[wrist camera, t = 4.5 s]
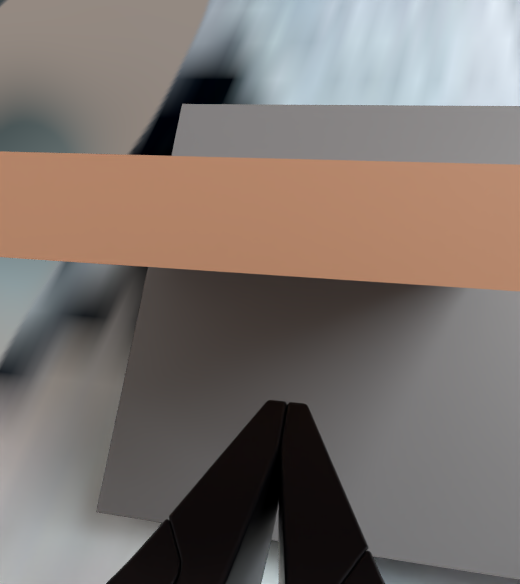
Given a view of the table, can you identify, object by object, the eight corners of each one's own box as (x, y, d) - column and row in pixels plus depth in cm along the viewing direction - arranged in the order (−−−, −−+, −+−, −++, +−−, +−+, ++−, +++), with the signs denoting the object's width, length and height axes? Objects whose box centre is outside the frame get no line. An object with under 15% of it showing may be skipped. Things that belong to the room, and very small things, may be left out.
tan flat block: (483, 266, 14) (786, 309, 5) (153, 247, 16) (-82, 251, 7) (488, 220, 14) (815, 172, 5) (154, 205, 16) (-87, 149, 6)
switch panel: (826, 606, 12) (957, 650, 10) (116, 497, 15) (79, 510, 13) (707, 152, 17) (774, 105, 15) (187, 142, 20) (170, 102, 18)
